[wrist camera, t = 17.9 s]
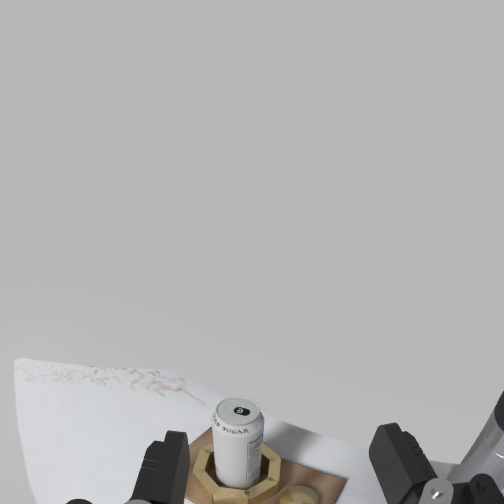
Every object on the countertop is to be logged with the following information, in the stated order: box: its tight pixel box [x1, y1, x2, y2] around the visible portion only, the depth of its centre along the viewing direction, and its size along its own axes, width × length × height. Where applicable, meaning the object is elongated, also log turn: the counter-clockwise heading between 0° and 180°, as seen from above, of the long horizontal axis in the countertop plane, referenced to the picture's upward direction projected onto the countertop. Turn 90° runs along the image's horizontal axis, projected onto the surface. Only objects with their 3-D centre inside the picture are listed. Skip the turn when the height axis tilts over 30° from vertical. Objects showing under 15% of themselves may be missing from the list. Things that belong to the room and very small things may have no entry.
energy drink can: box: [212, 397, 264, 490], centre depth 32 cm, size 6×6×15 cm
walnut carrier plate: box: [185, 426, 346, 504], centre depth 33 cm, size 24×14×1 cm, turn 58°
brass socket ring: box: [193, 442, 318, 504], centre depth 33 cm, size 17×12×4 cm
